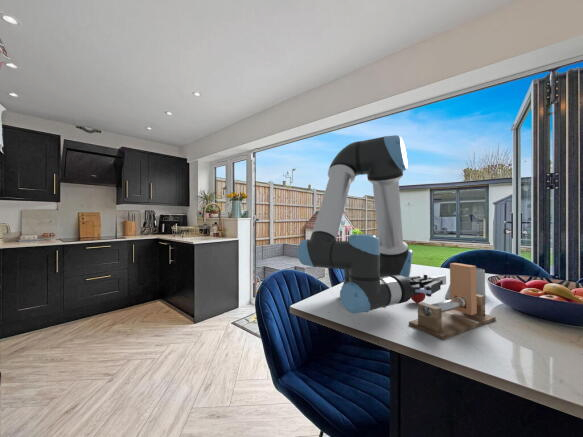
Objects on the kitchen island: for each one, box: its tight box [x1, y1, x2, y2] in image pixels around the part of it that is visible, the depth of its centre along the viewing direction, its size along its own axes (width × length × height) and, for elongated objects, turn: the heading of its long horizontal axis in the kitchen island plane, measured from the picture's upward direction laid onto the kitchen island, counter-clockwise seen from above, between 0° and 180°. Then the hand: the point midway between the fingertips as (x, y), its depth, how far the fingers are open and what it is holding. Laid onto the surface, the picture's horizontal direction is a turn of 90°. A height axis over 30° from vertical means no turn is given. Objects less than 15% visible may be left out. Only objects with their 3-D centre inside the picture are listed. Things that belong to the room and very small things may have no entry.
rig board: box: [408, 294, 497, 341], centre depth 80 cm, size 28×11×8 cm, turn 116°
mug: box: [476, 267, 486, 297], centre depth 110 cm, size 12×8×11 cm
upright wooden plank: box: [449, 262, 477, 315], centre depth 82 cm, size 3×7×16 cm, turn 26°
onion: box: [410, 293, 427, 304], centre depth 98 cm, size 6×6×8 cm
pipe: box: [422, 297, 466, 317], centre depth 80 cm, size 26×3×3 cm, turn 116°
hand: (443, 279), depth 78 cm, fingers closed
